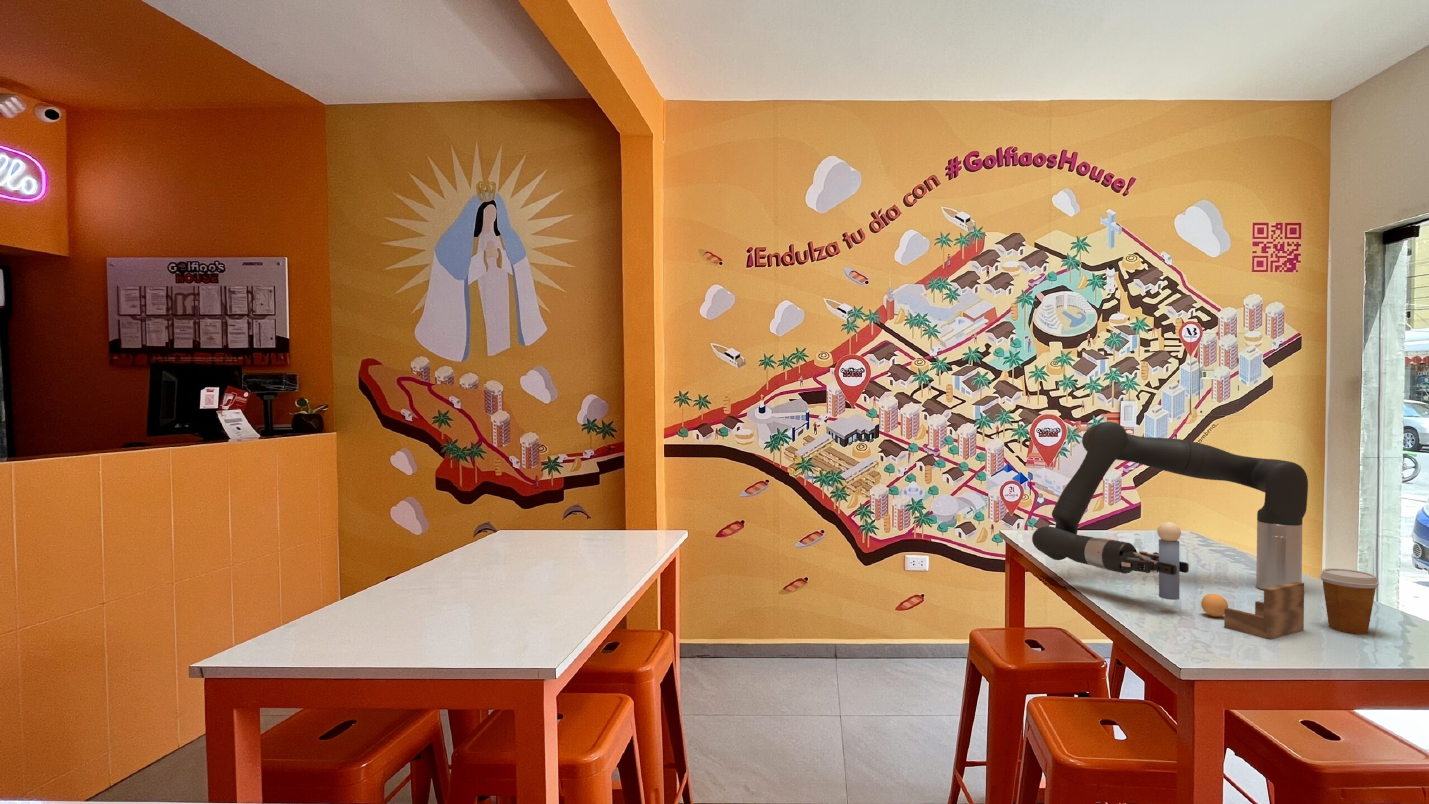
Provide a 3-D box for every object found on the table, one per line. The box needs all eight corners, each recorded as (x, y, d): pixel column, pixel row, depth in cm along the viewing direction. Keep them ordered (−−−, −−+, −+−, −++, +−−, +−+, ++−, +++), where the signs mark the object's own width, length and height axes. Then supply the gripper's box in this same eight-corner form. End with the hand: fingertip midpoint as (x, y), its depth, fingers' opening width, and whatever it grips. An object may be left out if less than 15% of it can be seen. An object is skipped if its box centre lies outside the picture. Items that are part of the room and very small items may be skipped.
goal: (1257, 619, 162) (1258, 574, 162) (1303, 630, 154) (1304, 583, 154) (1224, 627, 156) (1224, 580, 156) (1270, 639, 148) (1270, 590, 148)
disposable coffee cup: (1354, 623, 159) (1355, 568, 159) (1390, 637, 150) (1391, 579, 150) (1307, 621, 160) (1308, 567, 160) (1340, 635, 151) (1341, 577, 150)
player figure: (1165, 593, 170) (1164, 519, 170) (1185, 598, 166) (1185, 522, 166) (1153, 596, 168) (1152, 521, 168) (1173, 601, 164) (1173, 524, 164)
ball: (1209, 611, 167) (1209, 590, 167) (1232, 617, 162) (1233, 595, 162) (1196, 614, 165) (1196, 592, 165) (1220, 620, 160) (1220, 598, 160)
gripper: (1091, 542, 176) (1162, 556, 161) (1128, 536, 183) (1200, 549, 167) (1091, 573, 176) (1163, 589, 161) (1128, 566, 183) (1200, 581, 168)
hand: (1181, 569), depth 164 cm, fingers closed on player figure, 4 cm apart
